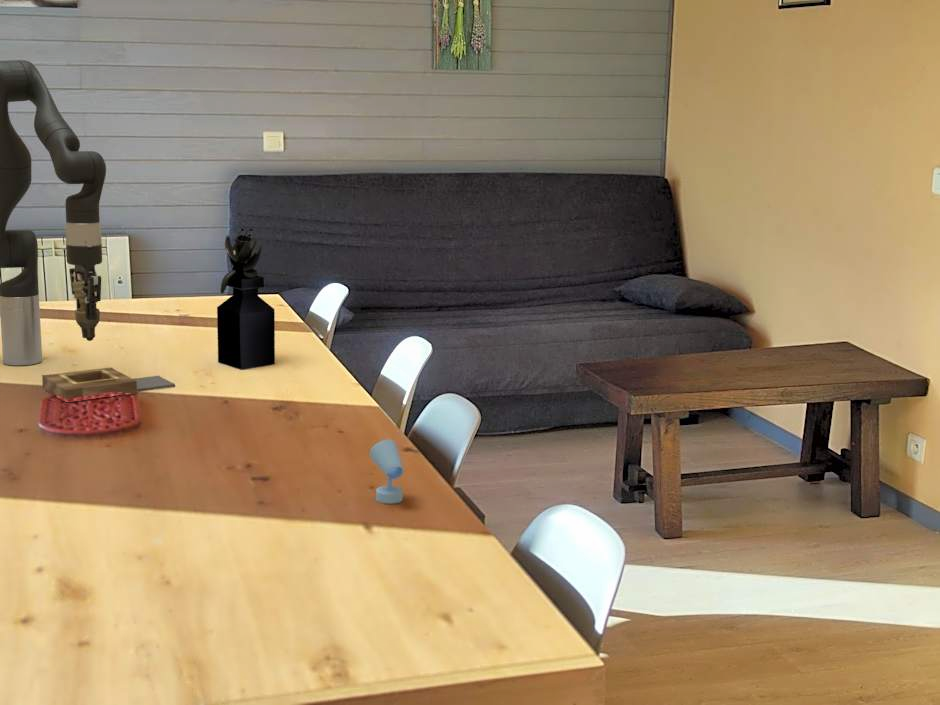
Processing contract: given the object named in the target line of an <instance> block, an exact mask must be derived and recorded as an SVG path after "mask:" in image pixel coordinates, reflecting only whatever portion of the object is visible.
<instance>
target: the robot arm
mask: <svg viewBox="0 0 940 705" xmlns="http://www.w3.org/2000/svg"><path fill="white" fill-rule="evenodd" d="M27 101H30V102H31V103H33V105H34V106H35V107H36V108H35V110H36V111H35V114H34V120H33V128H34V131H35V134H36V137H37V138H38V139H39V141H40V142H41V143H42V144H41V145H43V146H44V147H45V149H46V150H47V152H48V153H49V157H50V160H51V162H52V165H53V169H54V172H55V175H56V177H57V178H58V179H59V180H60V181H62V182H63V183H64V184H68V185H82V187H81V190H80V191H79V192H77V193H75V194H71V195H68V196H67V197H66V199H65V205H64V206H65V252H66V255H65V256H66V263H67V264H69V265H72V266H74V267H73V268H71V267H69V278H70V279H69V281H70V288H71V294H72V295H73V296H74V294H75V292H74V291H73V288H74V286H73V285H72V283H73V282H76V281H81V292H82V293H83V294H84V297H85V308H86V319H87V320H95V319H96V318H97V310H96V308H97V304H98V302H101V299H102V298H101V297H102V276H101V275H97V271H96V267H95V266H96V265H100V264H102V263H103V246H102V245H103V244H102V243H103V242H102V240H103V238H102V230H101V223H100V201H101V197H102V192H103V188H104V184H105V180H106V175H107V166H106V161H105V159H104V158H103V156H102V155H101V154H100V153H99V152H97V151H92V150H91V151H89V150H86V151H85V150H84V151H83V150H82V151H79V150H80V148H81V143H80V142H81V141H80V139H79V137H78V136H77V134H76V133H75V132H74V131H73V129H72V128H71V127H70V125H69V124H68V122H67V121H66V120H65V119H64V117H63V116H62V114H61V113H60V111H59V109H58V107H57V105H56V103H55V101H54V98H53V97H52V94H51V93H50V90H49V89H48V87H47V84H46V83H45V80H44V79H43V77H42V75H41V73H40V71H39V70H38V68H37V67H36V66H35V65H34V64H33V63H32V61H31V62H30V61H28V60H24V59H14V60H13V59H12V60H0V269H14V268H15V269H19V268H20V269H21V268H22V271H21V272H20V273H19V274H18V275H16V276H14V277H12V278H10V279H8V280H5V281H2V282H0V332H1V333H0V334H1V350H2V363H3V364H4V365H7V366H30V365H37V364H39V363H41V362H43V346H42V345H43V344H42V330H41V329H42V328H41V327H42V326H41V310H40V308H41V307H40V294H39V293H40V291H39V273H38V272H39V265H38V264H39V263H38V262H39V244H38V238H37V236H36V233H35V232H34V231H33V230H29V229H20V230H19V229H17V230H16V229H15V230H6V229H7V224H8V222H9V218H10V216H11V214H12V213H13V211H14V210H15V209H16V207H17V206H18V204H19V203H20V202H21V200H22V199H23V198H24V196H25V195H26V193H27V192H28V190H29V188H30V185H31V183H32V156H31V153H30V150H29V149H28V147H27V145H26V144H25V142H24V140H23V139H22V138H21V137H20V135H19V134H18V132H17V131H16V130H15V128H14V126H13V124H12V122H11V118H10V115H9V103H14V102H27ZM83 280H84V282H85V285H84V283H83ZM85 286H88V289H86V288H85ZM92 293H93V296H92ZM75 304H76V310H77V309H78V308H80V303H79V299H76V303H75Z"/></svg>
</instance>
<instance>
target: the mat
mask: <svg viewBox="0 0 940 705" xmlns="http://www.w3.org/2000/svg"><path fill="white" fill-rule="evenodd" d="M133 379H134V380H136V381H137V393H138V392H143V391H144V392H145V391H152V390H159V389H167V388H175V387H176V384H175V383H174V382H173V381H172V382H171V381H170V380H168V379H165V377H162V376H160V375H153V376H152V375H151V376H145V377H138V378H137V377H136V378H133Z"/></svg>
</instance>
